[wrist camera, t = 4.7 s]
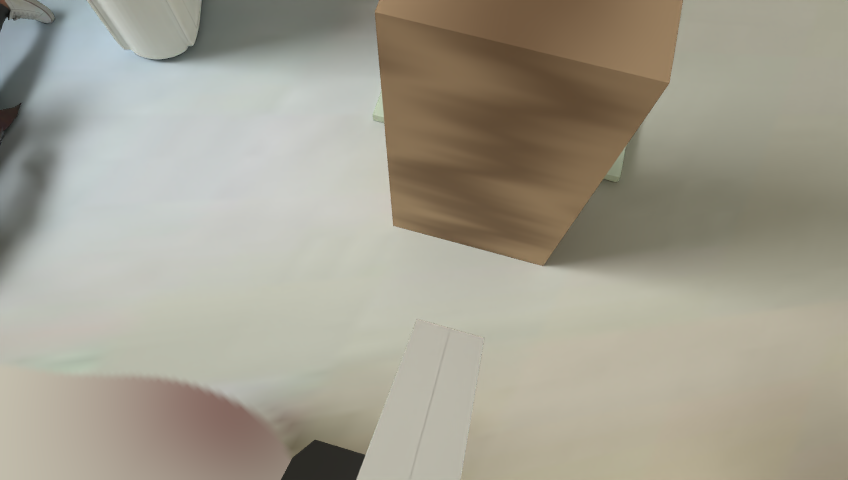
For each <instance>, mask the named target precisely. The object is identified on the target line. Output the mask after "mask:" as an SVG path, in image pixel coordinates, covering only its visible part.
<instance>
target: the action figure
mask: <svg viewBox="0 0 848 480" xmlns="http://www.w3.org/2000/svg"><path fill="white" fill-rule="evenodd" d="M7 17H8V20H10V19H13V20H18V19H20V18H24V19H33V20H37V21H40V22H43V23H52V22H53V21H54V20H55V17H54V14H53V13H52V12H51V10H50V9H49V8H48V7H46V6H45V5H43V4H42V3H40V2H38V1H37V0H0V31H1V29H2V25H3V23H4V21H5V19H6V18H7ZM21 104H22V103H20V104H19V105H17V106H15V107H14V108H9V109H3V110H0V144H1V141H2V139H3V136H4V134H3V131H4V130H5V129H6V128H8V127H9V126H10V124H11V123H12V122H13V120H14V119H15V118H16V117H17V114H18V111H19V109H20V106H21Z"/></svg>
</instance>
